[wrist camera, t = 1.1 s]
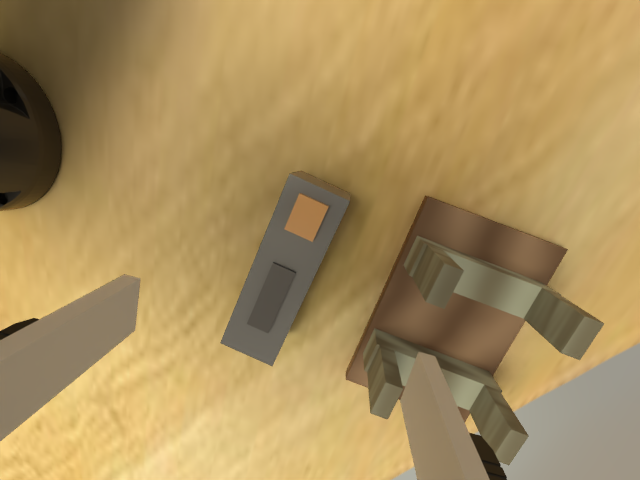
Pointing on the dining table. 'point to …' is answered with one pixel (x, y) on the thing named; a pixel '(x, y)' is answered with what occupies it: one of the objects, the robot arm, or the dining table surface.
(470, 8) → the dining table surface
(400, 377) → the rack
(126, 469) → the dining table surface
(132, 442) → the dining table surface
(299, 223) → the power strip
